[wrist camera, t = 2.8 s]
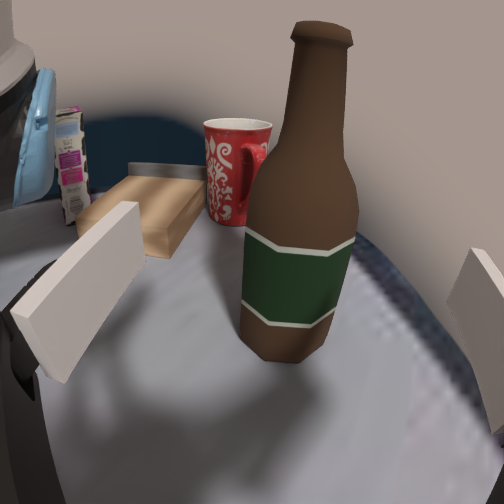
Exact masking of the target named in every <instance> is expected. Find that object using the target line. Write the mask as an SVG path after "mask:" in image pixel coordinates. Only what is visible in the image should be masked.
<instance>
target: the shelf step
mask: <svg viewBox="0 0 504 504" xmlns="http://www.w3.org/2000/svg"><path fill="white" fill-rule="evenodd" d="M128 170H129V176H128V177H126V178H125V179H124V180H122V181H121V182H119V183H118V184H117V185H115V186H114V187H113V188H111V189H110V190H109V191H107V192H106V193H105V194H103V195H102V196H101V197H99V198H98V199H97V200H96V201H94V202H93V203H92V204H90V205H89V206H88V207H87V208H85V209H84V210H83V211H82V212H80V213H79V214H78V215H77V216H75V217H74V218H75V222H76V227H77V231H78V236H79V239H80V238H81V237H82V236H83V235H84V234H85V233H86V232H87V231H88V230H89V229H90V228H92V227H93V226H94V225H95V224H96V223H97V222H98V221H99V220H100V219H102V218H103V217H104V216H105V215H106V214H107V213H108V212H109V211H111V210H112V209H113V208H114V207H115V206H116V205H118V204H119V203H120V202H121V201H130V202H139V211H140V220H141V228H142V236H143V244H144V251H145V255H148V256H154V257H161V258H167V259H170V258H171V256H172V255H173V253H174V252H175V250H176V249H177V247H178V246H179V244H180V242H181V241H182V239H183V238H184V236H185V235H186V233H187V232H188V230H189V229H190V227H191V226H192V224H193V223H194V221H195V220H196V219H197V217H198V216H199V214H200V213H201V211H202V210H203V208H204V207H205V205H206V204H207V166H193V165H178V164H159V163H158V164H157V163H134V162H130V163H129V164H128Z"/></svg>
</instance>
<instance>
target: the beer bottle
mask: <svg viewBox="0 0 504 504" xmlns="http://www.w3.org/2000/svg"><path fill="white" fill-rule="evenodd" d="M290 38H291V39H292V40H293V41H294V42H295V48H294V55H293V61H292V68H291V75H290V82H289V88H288V95H287V102H286V108H285V115H284V122H283V126H282V129H281V132H280V136H279V140H278V144H277V145H276V146H275V147H274V149H273V150H272V151H271V152H270V153H269V155H268V156H267V157H266V158H265V160H264V161H263V162H262V163H261V165H260V167H259V170H258V172H257V174H256V176H255V179H254V181H253V183H252V188H251V193H250V198H249V204H248V211H247V218H246V225H245V242H244V261H243V280H242V299H241V318H240V333H241V340H242V341H243V342H244V343H245V344H246V345H247V346H249V347H250V348H251V349H252V350H253V351H254V352H255V353H256V354H257V355H259V356H260V357H261V358H262V359H263V360H264V361H272V362H286V363H300V362H301V361H302V360H304V359H305V358H306V357H308V356H309V355H310V354H311V353H313V352H314V351H315V350H317V349H318V348H319V347H320V346H322V345H323V343H324V341H325V339H326V336H327V334H328V331H329V328H330V325H331V322H332V319H333V316H334V312H335V309H336V306H337V302H338V299H339V296H340V292H341V289H342V285H343V282H344V278H345V274H346V271H347V267H348V263H349V260H350V256H351V252H352V248H353V244H354V240H355V236H356V229H357V223H358V215H359V206H358V199H357V193H356V186H355V184H354V181H353V178H352V176H351V174H350V171H349V169H348V167H347V164H346V162H345V160H344V149H343V148H344V147H343V126H344V111H345V95H346V72H347V49H348V48H349V47H351V46H352V45H353V40H352V36H351V31H350V30H348V29H346V28H344V27H342V26H339V25H337V24H334V23H328V22H322V21H300V22H297V23H296V24H295V27H294V29H293V32H292V35H291V37H290Z"/></svg>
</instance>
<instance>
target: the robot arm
mask: <svg viewBox="0 0 504 504" xmlns="http://www.w3.org/2000/svg"><path fill="white" fill-rule="evenodd" d="M55 120H56V78H55V71H54V70H53V69H46V68H41V69H40V70H39V71H36V66H35V58H34V52H33V49H32V48H31V47H30V46H28V45H26V44H24V43H22V42H19V41H17V40H16V39H15V38H14V34H13V21H12V1H11V0H0V211H4V210H8V209H15V208H17V207H18V206H19V205H22V204H25V203H28V202H31V201H34V200H37V199H40V198H42V197H43V196H44V195H45V194H46V193H47V192H48V191H49V189H50V188H51V186H52V182H53V176H54V159H55ZM145 262H146V258H145V251H144V244H143V236H142V228H141V220H140V211H139V202H130V201H121V202H120V203H119V204H118V205H116V206H115V207H114V208H113V209H112V210H111V211H109V212H108V213H107V214H106V215H105V216H104V217H103V218H102V219H100V220H99V221H98V222H97V223H96V224H95V225H94V226H93V227H92V228H90V229H89V230H88V231H87V232H86V233H85V234H84V235H83V236H82V237H81V238H80V239H79V240H77V241H76V242H75V243H74V244H73V245H72V246H71V247H70V248H69V249H68V250H67V251H66V252H65V253H64V254H63V255H62V256H61V257H60V258H59V259H58V260H54V261H52V262H51V263H49V264H47V265H46V266H44V267H43V268H42V269H41V270H40V271H39V272H38V273H37V274H36V275H35V276H34V278H32V279H31V280H30V281H29V282H28V283H27V286H24V287H23V288H22V290H21V291H20V292H19V293H18V294H17V295H16V296H15V297H14V298H13V299H12V300H11V302H10V303H9V304H8V305H7V306H6V307H5V308H4V309H3V311H2V312H0V504H66V502H65V499H64V496H63V493H62V490H61V487H60V483H59V480H58V476H57V473H56V469H55V466H54V462H53V458H52V454H51V450H50V445H49V441H48V436H47V431H46V426H45V421H44V415H43V409H42V403H41V396H40V389H39V381H38V377H37V374H36V372H35V370H36V368H37V367H38V365H40V366H41V368H42V370H43V371H44V373H45V374H46V376H47V377H50V378H52V379H54V380H56V381H59V382H61V383H63V384H65V383H66V381H67V379H68V378H69V376H70V374H71V373H72V371H73V370H74V368H75V366H76V365H77V363H78V361H79V360H80V358H81V357H82V355H83V353H84V352H85V350H86V349H87V347H88V346H89V344H90V342H91V341H92V339H93V338H94V336H95V335H96V333H97V332H98V330H99V329H100V327H101V326H102V324H103V322H104V321H105V319H106V318H107V316H108V315H109V314H110V312H111V311H112V309H113V308H114V306H115V305H116V303H117V302H118V300H119V299H120V297H121V296H122V295H123V293H124V292H125V290H126V289H127V287H128V286H129V285H130V283H131V282H132V280H133V279H134V277H135V276H136V275H137V273H138V272H139V271H140V269H141V268H142V266H143V265H144V264H145ZM446 302H447V304H448V306H449V309H450V311H451V313H452V316H453V318H454V320H455V323H456V325H457V328H458V330H459V333H460V335H461V338H462V340H463V343H464V346H465V348H466V351H467V353H468V356H469V359H470V362H471V365H472V368H473V371H474V374H475V377H476V380H477V383H478V386H479V389H480V392H481V396H482V399H483V402H484V406H485V409H486V413H487V417H488V420H489V424H490V428H491V432H492V435H493V434H498V433H503V432H504V277H503V276H502V274H501V273H500V272H499V270H498V269H497V267H496V266H495V265H494V263H493V262H492V260H491V259H490V258H489V256H488V255H487V253H486V252H485V251H484V250H481V249H476V248H470V250H469V252H468V255H467V257H466V259H465V262H464V264H463V266H462V269H461V271H460V273H459V276H458V278H457V280H456V282H455V284H454V286H453V289H452V290H451V293H450V295H449V297H448V299H447V301H446ZM501 447H502V448H503V447H504V442H503V444H502V445H501ZM486 504H504V464H503V467H502V469H501V472H500V474H499V476H498V479H497V481H496V483H495V485H494V488H493V490H492V492H491V494H490V496H489V498H488V500H487V502H486Z"/></svg>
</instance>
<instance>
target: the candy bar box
mask: <svg viewBox="0 0 504 504" xmlns="http://www.w3.org/2000/svg"><path fill="white" fill-rule="evenodd" d="M55 167H56V173H57V180H58V186H59V192H60V198H61V203H62V208H63V213H64V218H65V224H66V225H71V224H75V223H76V222H75V218H74V217H75V216H77V215H78V214H79V213H80V212H82V211H83V210H84V209H85V208H87V207H88V206H89V205H90V204H92V201H91V194H90V186H89V178H88V170H87V161H86V151H85V140H84V127H83V111H82V110H81V109H80V108H79V107H78V106H76V107H69V108H64V109H59V110H56V120H55Z"/></svg>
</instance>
